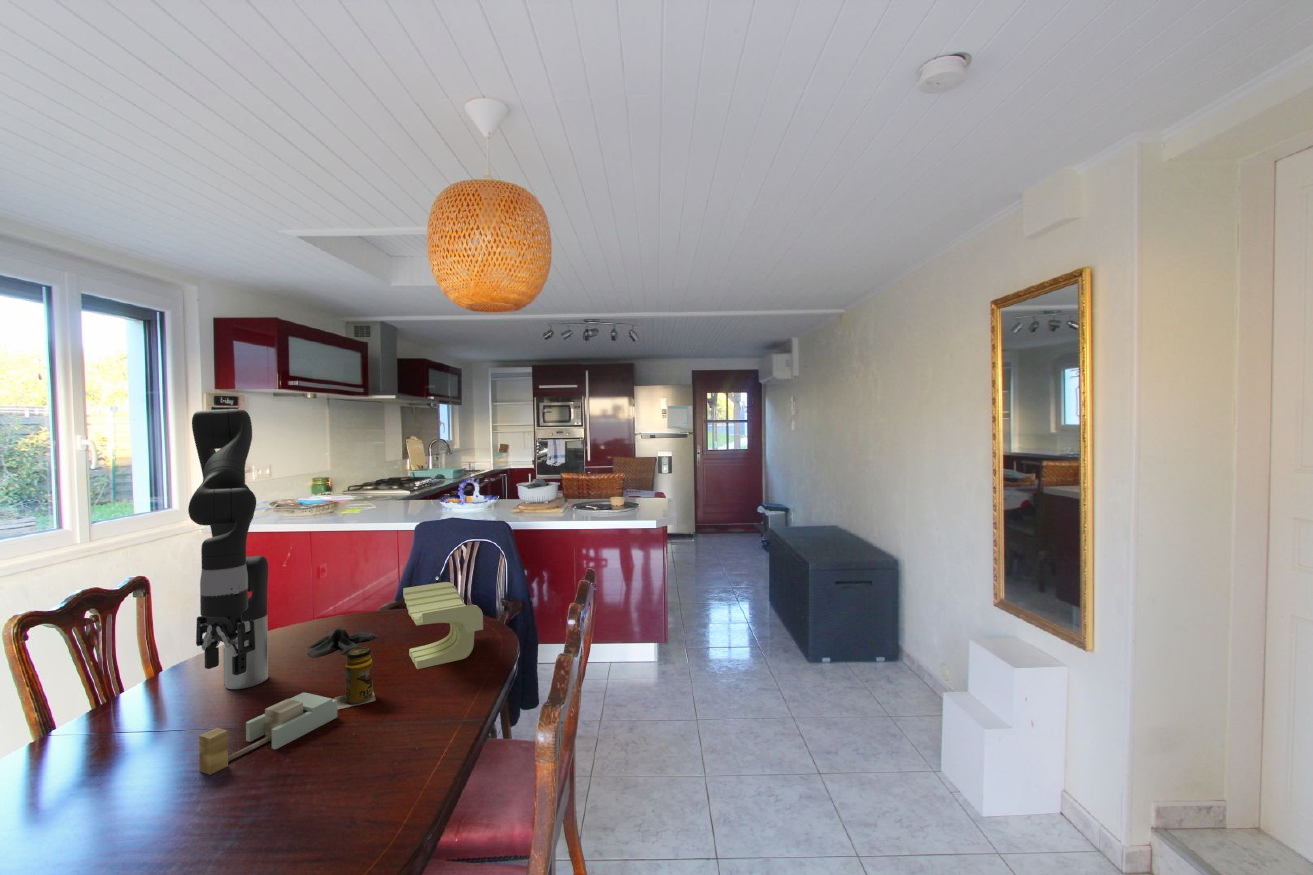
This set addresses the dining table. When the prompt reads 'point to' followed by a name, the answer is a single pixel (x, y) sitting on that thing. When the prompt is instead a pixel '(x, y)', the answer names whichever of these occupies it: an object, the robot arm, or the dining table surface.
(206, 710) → the dining table surface
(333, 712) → the u-shaped sage bracket
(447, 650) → the slatted curved stool
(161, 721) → the dining table surface
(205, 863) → the dining table surface
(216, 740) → the tethered block
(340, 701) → the condiment
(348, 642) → the cloth
